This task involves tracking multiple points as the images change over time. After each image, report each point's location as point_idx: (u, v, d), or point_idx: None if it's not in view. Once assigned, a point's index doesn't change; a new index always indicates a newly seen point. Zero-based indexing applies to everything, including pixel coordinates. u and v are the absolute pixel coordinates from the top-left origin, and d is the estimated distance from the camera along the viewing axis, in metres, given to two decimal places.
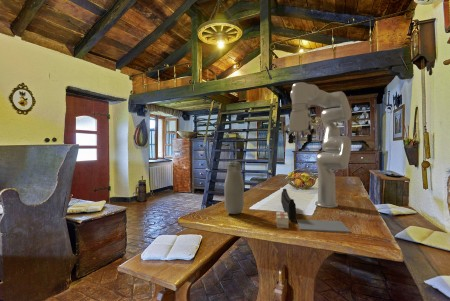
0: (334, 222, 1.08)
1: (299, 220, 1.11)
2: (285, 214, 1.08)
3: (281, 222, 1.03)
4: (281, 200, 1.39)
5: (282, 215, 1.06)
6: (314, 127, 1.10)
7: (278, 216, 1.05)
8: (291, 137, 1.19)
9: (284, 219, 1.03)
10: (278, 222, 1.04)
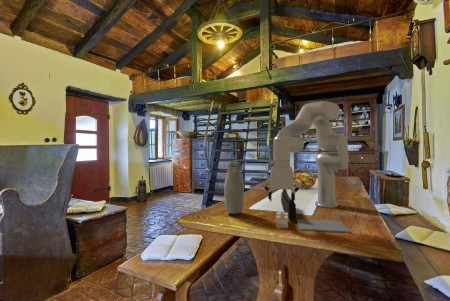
0: (334, 222, 1.08)
1: (299, 220, 1.11)
2: (285, 214, 1.08)
3: (280, 222, 1.03)
4: (281, 200, 1.39)
5: (282, 215, 1.06)
6: None
7: (278, 216, 1.06)
8: (291, 195, 1.07)
9: (283, 219, 1.03)
10: (277, 222, 1.04)
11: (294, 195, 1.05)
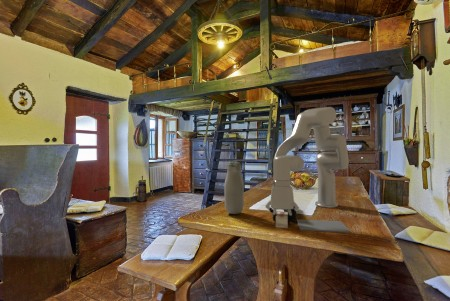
0: (334, 222, 1.08)
1: (299, 220, 1.11)
2: (285, 214, 1.08)
3: (280, 221, 1.03)
4: None
5: (282, 215, 1.06)
6: None
7: (277, 215, 1.06)
8: None
9: (283, 219, 1.03)
10: (277, 221, 1.04)
11: (290, 217, 1.06)
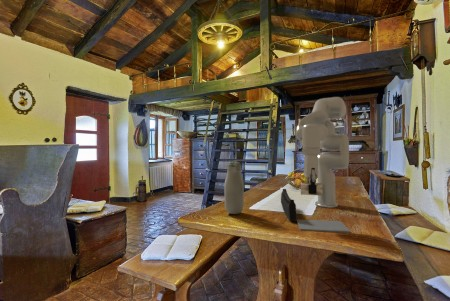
0: (334, 222, 1.08)
1: (299, 220, 1.11)
2: None
3: None
4: (281, 200, 1.38)
5: (307, 183, 1.05)
6: None
7: None
8: None
9: None
10: None
11: (310, 187, 1.02)
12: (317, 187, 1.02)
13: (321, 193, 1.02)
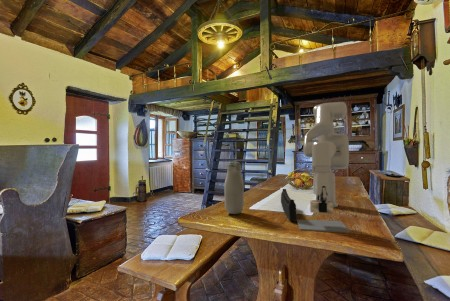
0: (334, 222, 1.08)
1: (299, 220, 1.11)
2: None
3: (310, 205, 1.06)
4: (281, 200, 1.38)
5: (317, 200, 1.04)
6: None
7: (315, 200, 1.06)
8: None
9: (310, 202, 1.05)
10: None
11: (321, 205, 1.01)
12: (327, 205, 1.01)
13: (332, 211, 1.01)
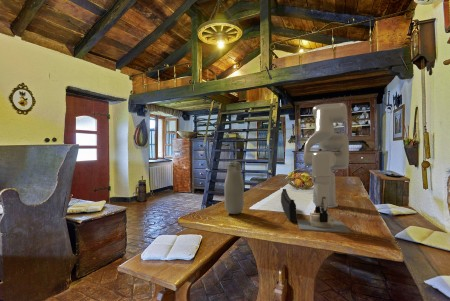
0: (334, 222, 1.08)
1: (299, 220, 1.11)
2: None
3: (310, 218, 1.06)
4: (281, 200, 1.38)
5: (317, 214, 1.05)
6: None
7: (314, 213, 1.07)
8: None
9: (310, 216, 1.05)
10: (310, 217, 1.07)
11: (321, 215, 0.99)
12: (328, 219, 1.02)
13: (332, 225, 1.01)
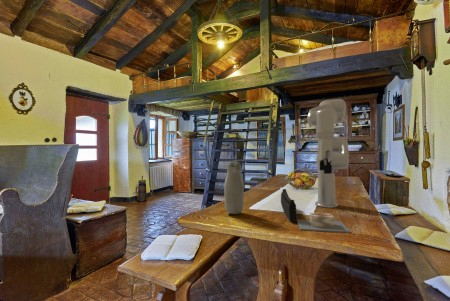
0: (334, 222, 1.08)
1: (299, 220, 1.11)
2: (324, 216, 1.03)
3: (310, 218, 1.06)
4: (281, 201, 1.38)
5: (317, 214, 1.05)
6: None
7: (314, 213, 1.07)
8: None
9: (310, 216, 1.05)
10: (310, 217, 1.07)
11: (326, 167, 1.06)
12: (328, 219, 1.02)
13: (332, 225, 1.01)
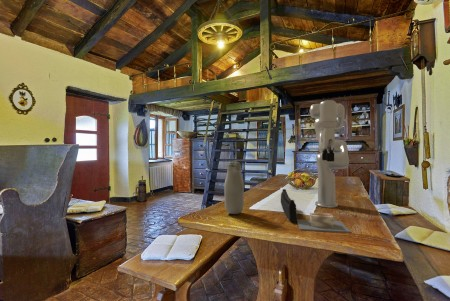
0: (334, 222, 1.08)
1: (299, 220, 1.11)
2: (324, 216, 1.03)
3: (310, 218, 1.06)
4: None
5: (317, 214, 1.05)
6: None
7: (314, 213, 1.07)
8: None
9: (310, 216, 1.05)
10: (310, 217, 1.07)
11: (329, 155, 1.11)
12: (328, 219, 1.02)
13: (332, 225, 1.01)
